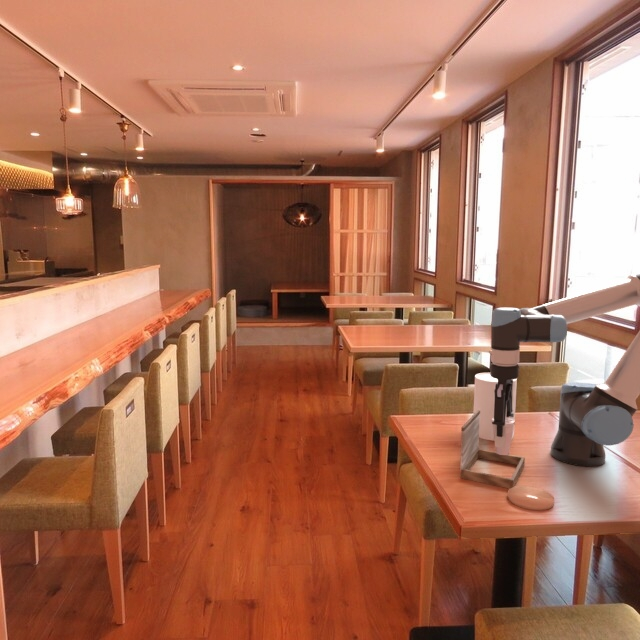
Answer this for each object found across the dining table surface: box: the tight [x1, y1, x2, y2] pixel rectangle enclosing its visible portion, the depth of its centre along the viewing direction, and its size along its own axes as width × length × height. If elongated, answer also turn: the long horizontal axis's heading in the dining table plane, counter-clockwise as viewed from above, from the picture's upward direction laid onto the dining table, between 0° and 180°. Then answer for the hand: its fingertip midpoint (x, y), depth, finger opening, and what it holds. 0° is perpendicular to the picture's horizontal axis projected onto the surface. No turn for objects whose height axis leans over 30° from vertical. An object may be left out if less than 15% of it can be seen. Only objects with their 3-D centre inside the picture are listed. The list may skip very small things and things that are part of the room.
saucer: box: [507, 485, 555, 511], centre depth 137 cm, size 11×11×1 cm
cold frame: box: [459, 410, 526, 490], centre depth 154 cm, size 16×18×15 cm
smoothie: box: [491, 405, 516, 455], centre depth 152 cm, size 6×6×14 cm
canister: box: [472, 372, 518, 442], centre depth 184 cm, size 14×14×20 cm
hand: (502, 442), depth 153 cm, fingers closed on smoothie, 6 cm apart
